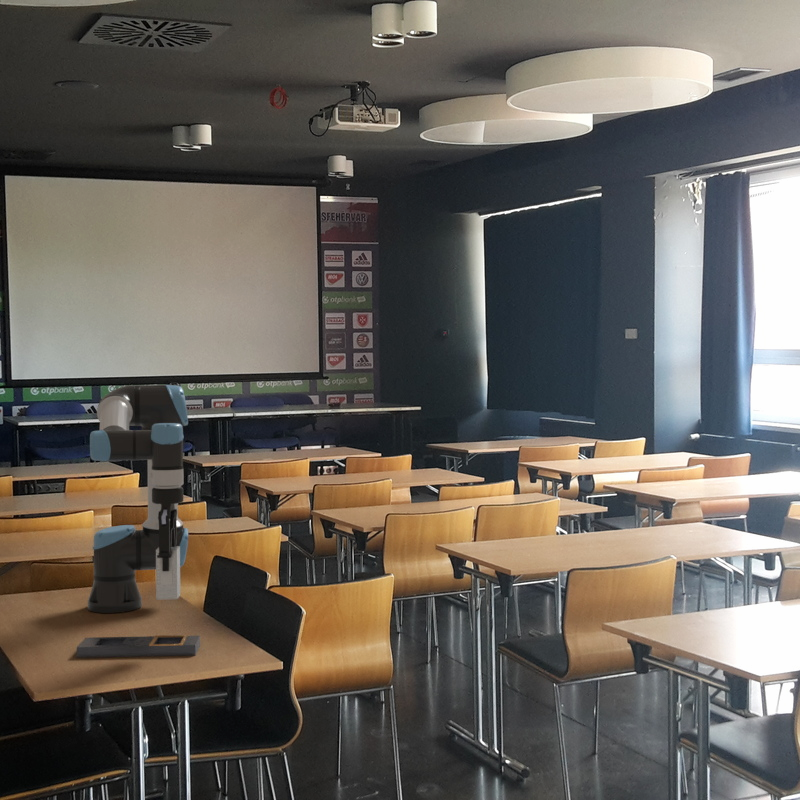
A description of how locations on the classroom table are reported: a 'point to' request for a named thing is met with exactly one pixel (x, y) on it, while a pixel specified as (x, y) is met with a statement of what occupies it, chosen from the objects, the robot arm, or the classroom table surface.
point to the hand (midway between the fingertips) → (168, 581)
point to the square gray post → (173, 589)
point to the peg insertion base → (139, 646)
